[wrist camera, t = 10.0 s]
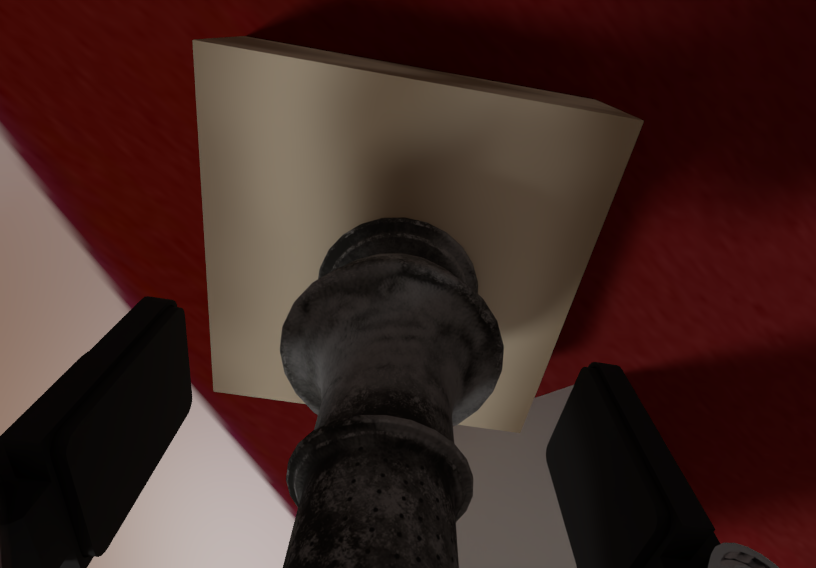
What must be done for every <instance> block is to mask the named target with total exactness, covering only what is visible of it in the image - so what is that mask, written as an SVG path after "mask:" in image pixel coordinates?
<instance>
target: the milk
mask: <svg viewBox="0 0 816 568" xmlns="http://www.w3.org/2000/svg"><path fill="white" fill-rule="evenodd" d="M573 386H574V385H572V386H569V387H566V388H563V389H561V390H558V391H555V392H552V393H549V394H546V395H543V396H540V397H537V398H534V400H533V402H532V405H531V407H530V410H529V412H528V415H527V417H526V420H525V422H524V425H523V427H522V430H521V432H520V433H515V432H508V431H501V430H493V429H486V428H479V427H471V426H464V425H456V426H453V434H454V444H455V445H456V446H457V447H458V449H459V450H460V451H461V452H462V454H463V455H464V456H465V457H466V459H467V461H468V463H469V466H470V469H471V472H472V474H473V497H472V499H471V502H470V504H469V506H468V508H467V511H466V512H465V513H464V514H463V515H462V516H461V517H460V519H459V520H458V521H457V522H456V532H457V547H458V561H459V568H577V566H576V562H575V559H574V555H573V552H572V548H571V545H570V542H569V538H568V535H567V531H566V528H565V524H564V521H563V517H562V514H561V510H560V507H559V503H558V500H557V496H556V493H555V489H554V486H553V482H552V479H551V475H550V472H549V468H548V465H547V461H546V448H547V445H548V442H549V440H550V438H551V436H552V433H553V431H554V429H555V427H556V424H557V422H558V420H559V418H560V415H561V413H562V411H563V409H564V406H565V404H566V402H567V400H568V398H569V395H570V393H571V391H572V389H573Z"/></svg>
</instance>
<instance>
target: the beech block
mask: <svg viewBox="0 0 816 568" xmlns="http://www.w3.org/2000/svg"><path fill="white" fill-rule="evenodd" d="M193 55H194V72H195V89H196V105H197V122H198V139H199V155H200V172H201V189H202V205H203V222H204V239H205V256H206V272H207V289H208V306H209V322H210V339H211V356H212V372H213V389H214V391H215V392H222V393H229V394H237V395H244V396H251V397H259V398H266V399H273V400H281V401H288V402H295V403H303V404H305V403H304V401H303V400H302V399H301V398H300V397H299V396H298V395H297V394H296V393H295V391H294V389H293V387H292V386H291V384H290V382H289V380H288V378H287V377H286V375H285V373H284V368H283V364H282V359H281V354H280V342H281V334H282V326H283V324H284V322H285V320H286V318H287V316H288V314H289V312H290V309H291V307H292V305H293V303H294V302H295V300H296V299H297V298H298V297H299V296H300V295H301V294H302V293H303V292H304V291H305V290H306V289H307V288H308V287H309V286H310V285H311V284H312V283H313V282H314V281H316V280H318V276H319V269H320V266H321V264H322V262H323V260H324V258H325V256H326V254H327V252H328V250H329V249H330V248H331V247H332V246H333V245H334V243H335V242H336V241H337V240H338V239H339V238H340V237H341V236H342V235H343V234H345V233H347V232H348V231H350V230H352V229H353V228H355V227H357V226H358V225H360V224H363V223H366V222H370V221H373V220H377V219H380V218H400V217H405V218H410V219H414V220H419V221H423V222H427V223H429V224H431V225H433V226H435V227H437V228H439V229H441V230H443V231H445V232H447V233H448V234H449V235H450V236H451V237H452V238H453V239H455V240H456V241H457V242H458V243H459V244H460V245H461V246H462V247H463V248H464V250H465V252H466V253H467V255H468V256H469V258H470V260H471V261H472V263H473V266H474V269H475V273H476V277H477V280H478V294H479V295H480V296H481V297H482V298H483V299H484V301H485V302H486V304H487V305H488V307H489V309H490V310H491V312H492V313H493V315H494V316H495V318H496V320H497V322H498V325H499V329H500V333H501V337H502V341H503V345H504V354H503V367H502V372H501V374H500V377H499V379H498V381H497V384H496V386H495V389H494V391H493V393H492V394H491V395H490V396H489V397H488V399H487V400H486V401H485V402H484V403H483V405H482V406H481V407H480V408H479V409H478V410H477V411H476V412H475V413H473V414H472V415H470V416H469V417H468V418H466V419H465V420H463V421H462V422H461V423H459V424H458V425H464V426H471V427H479V428H486V429H493V430H501V431H508V432H515V433H520V432H521V430H522V427H523V425H524V422H525V420H526V417H527V415H528V412H529V410H530V407H531V405H532V402H533V400H534V397H535V395H536V392H537V390H538V387H539V385H540V382H541V379H542V377H543V374H544V372H545V369H546V367H547V364H548V362H549V359H550V357H551V354H552V352H553V349H554V347H555V344H556V342H557V339H558V337H559V334H560V332H561V329H562V327H563V324H564V321H565V319H566V316H567V314H568V311H569V309H570V306H571V304H572V301H573V299H574V296H575V294H576V291H577V289H578V286H579V284H580V281H581V279H582V276H583V274H584V271H585V269H586V266H587V263H588V261H589V258H590V256H591V253H592V251H593V248H594V246H595V243H596V241H597V238H598V236H599V233H600V231H601V228H602V226H603V223H604V221H605V218H606V216H607V213H608V211H609V208H610V205H611V203H612V200H613V198H614V195H615V193H616V190H617V188H618V185H619V183H620V180H621V178H622V175H623V173H624V170H625V168H626V165H627V163H628V160H629V158H630V155H631V153H632V150H633V148H634V145H635V142H636V140H637V137H638V135H639V132H640V130H641V127H642V125H643V122H644V120H641V119H639V118H637V117H634V116H632V115H630V114H628V113H625V112H623V111H621V110H618V109H616V108H614V107H611V106H609V105H607V104H604V103H602V102H600V101H597V100H595V99H589V98H584V97H578V96H573V95H567V94H562V93H556V92H551V91H545V90H540V89H534V88H529V87H523V86H518V85H512V84H506V83H501V82H495V81H490V80H484V79H479V78H473V77H468V76H462V75H457V74H451V73H446V72H440V71H435V70H429V69H424V68H418V67H412V66H407V65H401V64H396V63H390V62H385V61H379V60H374V59H368V58H363V57H357V56H352V55H346V54H341V53H335V52H330V51H324V50H319V49H313V48H307V47H302V46H296V45H291V44H285V43H280V42H274V41H269V40H263V39H258V38H252V37H247V36H240V37H225V38H210V39H196V40H193Z"/></svg>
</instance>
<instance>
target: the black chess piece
mask: <svg viewBox="0 0 816 568" xmlns="http://www.w3.org/2000/svg"><path fill="white" fill-rule="evenodd" d="M280 354H281V359H282V364H283V368H284V373H285V375H286V377H287V378H288V380H289V382H290V384H291V386H292V387H293V389H294V391H295V393H296V394H297V395H298V396H299V397H300V398H301V399H302V400H303V401H304V403H305V404H306V405H307V406H308V407H309V408H310V409H311V410H312V411H313V412H314V413H316V414H317V415H318V418H317V421H316V425H315V429H314V430H313V431H312V432H311V433H310V434H309V435H308V436H306V437H305V438H304V439H303V440H302V441H301V442H299V443H298V445H297V447H296V448H295V450H294V452H293V454H292V455H291V457H290V459H289V462H288V468H287V476H286V481H287V485H288V489H289V493H290V496H291V498H292V499H293V501H294V502H295V504H296V505H297V507H298V511H297V514H296V518H295V522H294V526H293V530H292V534H291V538H290V542H289V546H288V550H287V553H286V557H285V562H284V565H283V568H459V561H458V547H457V532H456V522H457V521H458V520H459V519H460V517H461V516H462V515H463V514H464V513H465V512H466V511H467V508H468V506H469V504H470V502H471V499H472V497H473V474H472V472H471V469H470V466H469V463H468V461H467V459H466V457H465V456H464V455H463V454H462V452H461V451H460V450H459V449H458V447H457V446H456V445H455V444H454V434H453V426H456V425H458V424H459V423H461V422H462V421H463V420H465V419H466V418H468V417H469V416H470V415H472V414H473V413H475V412H476V411H477V410H478V409H479V408H480V407H481V406H482V405H483V403H484V402H485V401H486V400H487V399H488V397H489V396H490V395H491V394H492V393H493V391H494V389H495V386H496V384H497V381H498V379H499V377H500V374H501V372H502V367H503V354H504V345H503V341H502V337H501V333H500V329H499V325H498V322H497V320H496V318H495V316H494V315H493V313H492V312H491V310H490V309H489V307H488V305H487V304H486V302H485V301H484V299H483V298H482V297H481V296H480V295H479V294H478V280H477V277H476V273H475V269H474V266H473V263H472V261H471V260H470V258H469V256H468V255H467V253H466V252H465V250H464V248H463V247H462V246H461V245H460V244H459V243H458V242H457V241H456V240H455V239H453V238H452V237H451V236H450V235H449V234H448V233H447V232H445V231H443V230H441V229H439V228H437V227H435V226H433V225H431V224H429V223H427V222H423V221H419V220H414V219H410V218H405V217H400V218H380V219H377V220H373V221H370V222H366V223H363V224H360V225H358V226H357V227H355V228H353V229H352V230H350V231H348V232H347V233H345V234H343V235H342V236H341V237H340V238H339V239H338V240H337V241H336V242H335V243H334V245H333V246H332V247H331V248H330V249H329V250H328V252H327V254H326V256H325V258H324V260H323V262H322V264H321V266H320V269H319V276H318V280H316V281H314V282H313V283H312V284H311V285H310V286H309V287H308V288H307V289H306V290H305V291H304V292H303V293H302V294H301V295H300V296H299V297H298V298H297V299H296V300H295V302H294V303H293V305H292V307H291V309H290V312H289V314H288V316H287V318H286V320H285V322H284V324H283V326H282V334H281V342H280Z"/></svg>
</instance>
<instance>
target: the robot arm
mask: <svg viewBox="0 0 816 568" xmlns="http://www.w3.org/2000/svg"><path fill="white" fill-rule="evenodd" d="M191 403H192V390H191V379H190V368H189V357H188V346H187V335H186V324H185V314H184V310H183V309H182V308H178V307H177V304H176V302H175V301H173V300H169V299H162V298H155V297H144V298H143V299H142V300H141V301H139V302H138V303H137V304H136V305H135V306H134V307H133V308H132V309H131V310H130V311H129V312H128V313H127V314H126V315H125V316H124V317H123V318H122V319H121V320H120V321H119V322H118V323H117V324H116V325H115V326H114V327H113V328H112V329H111V330H110V331H109V332H108V333H107V334H106V335H105V336H104V337H103V338H102V339H101V340H100V341H99V342H98V343H97V344H96V345H95V346H94V347H93V348H92V349H91V350H90V351H89V352H87V353H86V354H84V355H83V356H82V357H81V358H80V359H79V360H78V361H77V362H75V363H74V364H73V365H72V366H71V367H70V368H69V369H68V370H67V371H66V372H65V373H64V374H63V375H62V376H61V377H60V378H59V379H58V380H57V381H56V382H55V383H54V384H53V385H52V386H51V387H50V388H49V389H48V390H47V391H46V392H45V393H44V394H43V395H42V396H41V397H40V398H39V399H38V400H37V401H36V402H35V403H34V404H33V405H32V406H31V407H30V408H29V409H27V410H26V412H24V414H22V415H21V416H20V417H19V418H18V419H17V420H16V421H15V422H14V423H13V424H12V425H11V426H10V427H9V428H8V429H7V430H6V431H5V432H4V433H3V434H2V435H1V436H0V568H87V566H88V565H89V563H90V562H91V560H92V558H93V557H94V556H96V557H99V556H101V555H102V554H103V553H104V552H105V551H106V550H107V548H108V547H109V545H110V543H111V542H112V540H113V538H114V536H115V535H116V533H117V532H118V530H119V528H120V527H121V525H122V523H123V522H124V520H125V518H126V517H127V515H128V513H129V512H130V510H131V508H132V507H133V505H134V503H135V502H136V500H137V498H138V496H139V495H140V493H141V491H142V490H143V488H144V486H145V485H146V483H147V481H148V480H149V478H150V476H151V475H152V473H153V471H154V470H155V468H156V466H157V465H158V463H159V461H160V460H161V458H162V456H163V455H164V453H165V451H166V450H167V448H168V446H169V445H170V443H171V441H172V440H173V438H174V436H175V434H176V433H177V431H178V429H179V428H180V426H181V425H182V423H183V421H184V419H185V418H186V416H187V414H188V413H189V410H190V407H191ZM546 461H547V465H548V468H549V472H550V475H551V479H552V482H553V486H554V489H555V493H556V496H557V500H558V503H559V507H560V510H561V514H562V517H563V521H564V524H565V528H566V531H567V535H568V538H569V542H570V545H571V548H572V552H573V555H574V559H575V562H576V566H577V568H779V567H778V566H777V565H775V564H774V563H773V562H771V561H770V560H769V559H767V558H766V557H765V556H763V555H762V554H760V553H758V552H756V551H754V550H752V549H750V548H749V547H746V546H743V545H739V544H736V543H722V544H720V542H719V541H718V539H717V537H716V535H715V534H714V530H715V528H714V527H713V525H712V523H711V521H710V520H709V518H708V516H707V515H706V513H705V511H704V509H703V508H702V506H701V504H700V503H699V501H698V499H697V497H696V496H695V494H694V492H693V490H692V489H691V487H690V485H689V484H688V482H687V480H686V478H685V477H684V475H683V473H682V472H681V470H680V468H679V466H678V465H677V463H676V461H675V460H674V458H673V456H672V454H671V453H670V451H669V449H668V448H667V446H666V444H665V442H664V441H663V439H662V437H661V436H660V434H659V432H658V430H657V429H656V427H655V425H654V424H653V422H652V420H651V418H650V417H649V415H648V413H647V412H646V410H645V408H644V406H643V405H642V403H641V401H640V399H639V398H638V396H637V394H636V393H635V391H634V389H633V387H632V386H631V384H630V382H629V381H628V379H627V377H626V375H625V374H624V372H623V370H622V369H621V368H620V367H619V366H617V365H611V364H605V363H598V362H593V363H591V364H590V365H589V366H588V367H583V368H582V369H581V371H580V373H579V375H578V377H577V380H576V382H575V384H574V386H573V389H572V391H571V393H570V395H569V398H568V400H567V402H566V404H565V406H564V409H563V411H562V413H561V415H560V418H559V420H558V422H557V424H556V427H555V429H554V431H553V433H552V436H551V438H550V440H549V442H548V445H547V448H546Z"/></svg>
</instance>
